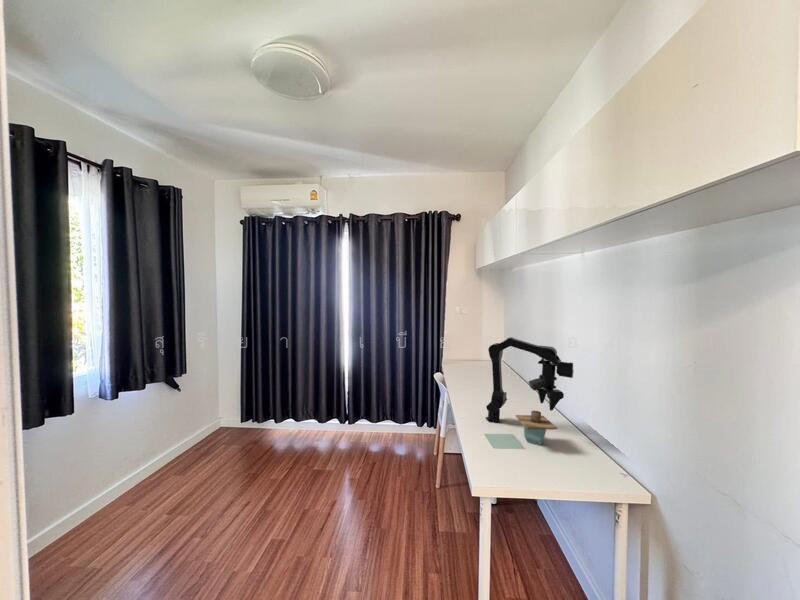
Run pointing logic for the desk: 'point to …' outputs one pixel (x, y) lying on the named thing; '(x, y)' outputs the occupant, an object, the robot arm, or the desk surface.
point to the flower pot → (534, 435)
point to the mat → (504, 441)
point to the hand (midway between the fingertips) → (546, 406)
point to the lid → (535, 421)
